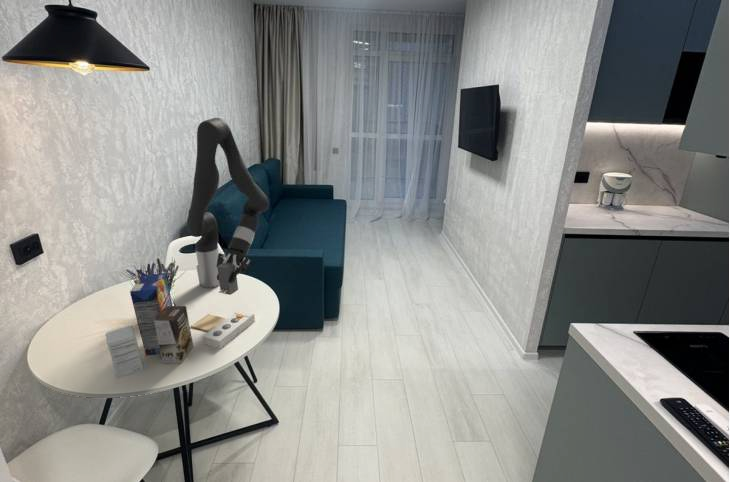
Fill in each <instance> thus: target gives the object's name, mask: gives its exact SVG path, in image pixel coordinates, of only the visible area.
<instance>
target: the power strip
mask: <svg viewBox="0 0 730 482" xmlns="http://www.w3.org/2000/svg"><path fill="white" fill-rule="evenodd" d="M255 321H256V320H255V313H253V312H249V311H245V310H241V309H240V310H239V309H237V310H236V311H234V312H233V313H232V314H231V315H230V316H229V317H227V318H226V319H225V320H224V321H223V322H221V323H220V324H219V325H217V326H216V327H214V328H213V329H212V330H210V331H209V332H206V333H205V334H203V335H202V342H203V344H204V345H206V346H207V345H208V346H210V347H214V348H218V349H222V348H224V347H225V346H226V345H227V344H228V343H230V342H231V341H232V340H233V339H234V338H236V337H237V336H238V335H239V334H241V333H242V332H243V331H245V330H246V329H247V328H248V327H249V326H251V325H252V324H253V323H254V322H255Z"/></svg>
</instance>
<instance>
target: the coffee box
mask: <svg viewBox="0 0 730 482" xmlns="http://www.w3.org/2000/svg"><path fill="white" fill-rule="evenodd" d="M154 324H155V328H156V333H157V338H158V342H159V347H160V351H161V354H160V355H161V361H162V363H163V364H178V365H179V364H182V363H183V362H184V361H185V359H186V358H187V357H188V356H189V354H190V352H191V351H192V350H193V349H194V342H193V336H192V331H191V325H190V320H189V316H188V310H187V306H186V305H172V306H168V307H167V308H166V309H165V310H164V311H163V312H162V313H161V314H160V315H159V316H158V317H157V318H156V319H155V320H154Z"/></svg>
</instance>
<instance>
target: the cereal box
mask: <svg viewBox="0 0 730 482" xmlns="http://www.w3.org/2000/svg"><path fill="white" fill-rule="evenodd" d="M133 285H134V286H133V287H132V288H131V290H130V291H129V294H130V298H131V301H132V305H133V309H134V313H135V317H136V322H137V325H138V330H139V333H140V338H141V341H142V342H141V343H142V346H143V350H144V355H145V357H150V356H157V355H159V356H160V355H161V351H160V347H159V342H158V338H157V333H156V328H155V324H154V320H155V319H156V318H157V317H158V316H159V315H160V314H161V313H162V312H163V311H164V310H165V309H166V308H167V307H168V306H173V302H172V298H171V297H172V296H171V292H170V287H169V282H168V278H167V274H166V273H165V272H164V273H156V274H145V275H141V276H140V277H139V278H138V280H137V281H136V283H135V284H133Z"/></svg>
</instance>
